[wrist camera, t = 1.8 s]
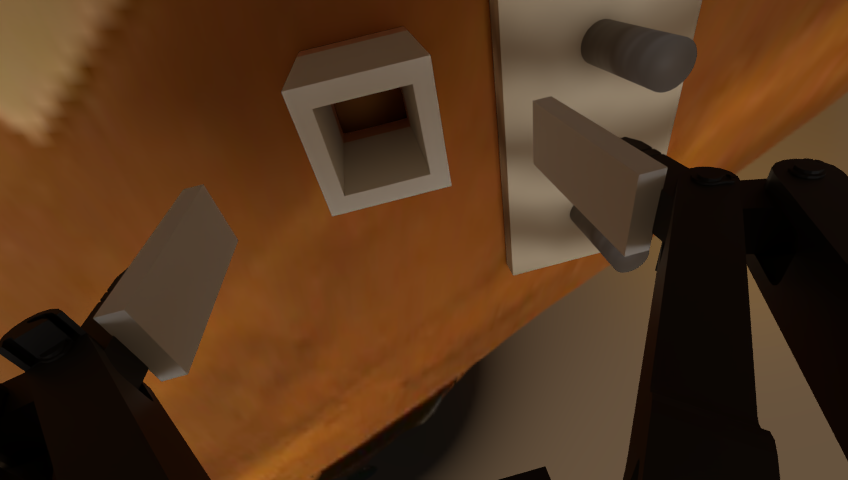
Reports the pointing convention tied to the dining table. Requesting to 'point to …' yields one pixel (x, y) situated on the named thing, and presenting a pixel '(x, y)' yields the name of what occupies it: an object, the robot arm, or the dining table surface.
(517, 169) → the pin board
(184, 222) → the robot arm
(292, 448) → the dining table surface
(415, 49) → the sleeve
